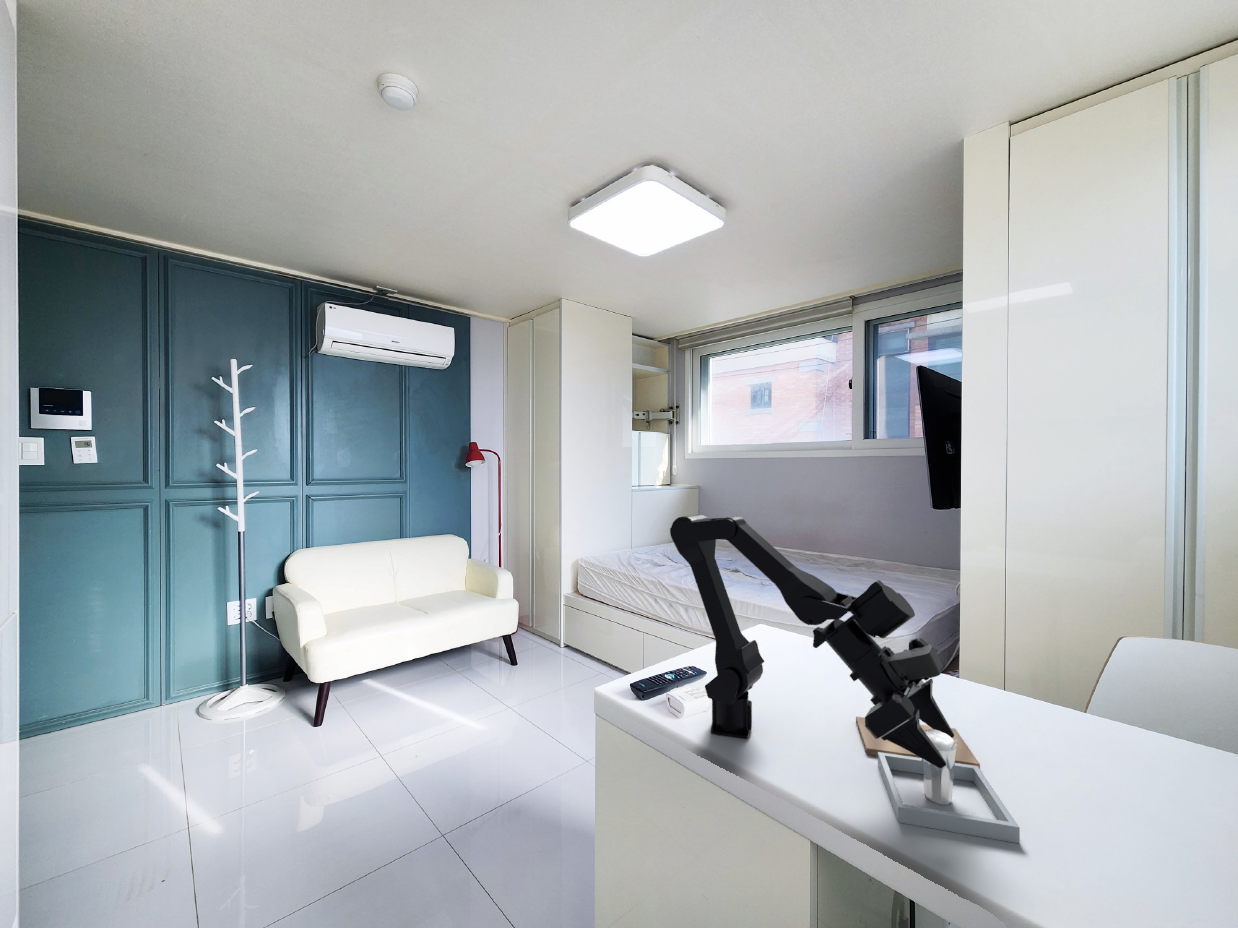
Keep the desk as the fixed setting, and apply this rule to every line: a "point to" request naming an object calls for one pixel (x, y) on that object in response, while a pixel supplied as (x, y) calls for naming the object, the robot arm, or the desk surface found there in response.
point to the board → (886, 746)
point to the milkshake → (940, 769)
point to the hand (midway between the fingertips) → (948, 751)
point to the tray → (946, 820)
